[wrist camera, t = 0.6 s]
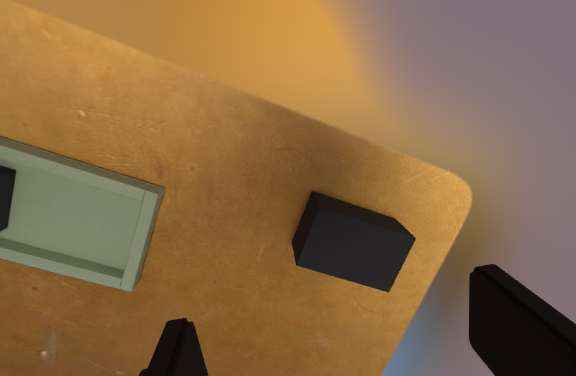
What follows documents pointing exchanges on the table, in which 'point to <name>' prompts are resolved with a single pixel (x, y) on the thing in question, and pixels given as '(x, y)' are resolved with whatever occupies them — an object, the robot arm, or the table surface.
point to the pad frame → (77, 217)
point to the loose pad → (350, 242)
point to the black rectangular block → (6, 194)
